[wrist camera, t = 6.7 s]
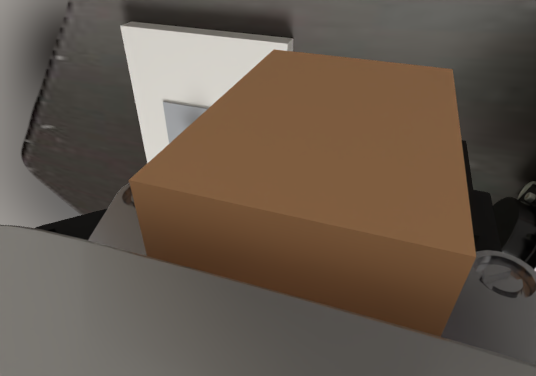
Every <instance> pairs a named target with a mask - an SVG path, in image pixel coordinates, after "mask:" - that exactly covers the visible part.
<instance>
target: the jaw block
mask: <svg viewBox="0 0 536 376" xmlns="http://www.w3.org/2000/svg"><path fill="white" fill-rule="evenodd" d="M129 183H130V187H131V191H132V195H133V199H134V204H135V208H136V212H137V216H138V221H139V225H140V229H141V233H142V237H143V242H144V246H145V250H146V254H147V256H149V257H152V258H156V259H160V260H164V261H167V262H171V263H175V264H178V265H182V266H186V267H190V268H193V269H197V270H201V271H205V272H208V273H212V274H216V275H219V276H223V277H227V278H230V279H234V280H238V281H241V282H245V283H249V284H252V285H256V286H260V287H263V288H267V289H271V290H274V291H278V292H282V293H285V294H289V295H293V296H296V297H300V298H304V299H307V300H311V301H314V302H318V303H322V304H325V305H329V306H333V307H336V308H340V309H343V310H347V311H350V312H354V313H358V314H361V315H365V316H368V317H372V318H376V319H379V320H383V321H386V322H390V323H394V324H397V325H401V326H404V327H408V328H411V329H415V330H419V331H422V332H426V333H429V334H433V335H437V336H440V337H441V335H442V332H443V330H444V328H445V326H446V323H447V321H448V319H449V317H450V315H451V312H452V310H453V308H454V306H455V303H456V301H457V299H458V297H459V294H460V292H461V290H462V288H463V285H464V283H465V281H466V279H467V277H468V274H469V272H470V270H471V268H472V265H473V263H474V261H475V259H476V251H475V243H474V235H473V227H472V219H471V212H470V204H469V196H468V188H467V180H466V172H465V164H464V156H463V148H462V140H461V132H460V124H459V116H458V108H457V100H456V93H455V85H454V77H453V69H446V68H437V67H428V66H419V65H410V64H401V63H392V62H383V61H374V60H365V59H356V58H347V57H338V56H329V55H320V54H311V53H302V52H293V51H284V50H275V49H274V50H273V51H271V52H270V53H269V54H268V55H267V56H266V57H265V58H264V59H263V60H261V61H260V62H259V63H258V64H257V65H256V66H255V67H254V68H253V69H251V70H250V71H249V72H248V73H247V74H246V75H245V76H244V77H243V78H242V79H240V80H239V81H238V82H237V83H236V84H235V85H234V86H233V87H232V88H230V89H229V90H228V91H227V92H226V93H225V94H224V95H223V96H222V97H220V98H219V99H218V100H217V101H216V102H215V103H214V104H213V105H212V106H210V107H209V108H208V109H207V110H206V111H205V112H204V113H203V114H202V115H201V116H199V117H198V118H197V119H196V120H195V121H194V122H193V123H192V124H191V125H189V126H188V127H187V128H186V129H185V130H184V131H183V132H182V133H181V134H179V135H178V136H177V137H176V138H175V139H174V140H173V141H172V142H171V143H170V144H168V145H167V146H166V147H165V148H164V149H163V150H162V151H161V152H160V153H158V154H157V155H156V156H155V157H154V158H153V159H152V160H151V161H150V162H148V163H147V164H146V165H145V166H144V167H143V168H142V169H141V170H140V171H139V172H137V173H136V174H135V175H134V176H133V177H132V178H131V179H130V180H129Z"/></svg>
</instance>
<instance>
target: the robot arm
mask: <svg viewBox="0 0 536 376" xmlns="http://www.w3.org/2000/svg"><path fill="white" fill-rule="evenodd" d="M462 148H463V156H464V164H465V172H466V180H467V188H468V196H469V204H470V212H471V219H472V227H473V235H474V243H475V251H476V259H475V261H474V263H473V265H472V268H471V270H470V272H469V274H468V277H467V279H466V281H465V283H464V285H463V288H462V290H461V292H460V294H459V297H458V299H457V301H456V303H455V306H454V308H453V310H452V312H451V315H450V317H449V319H448V321H447V323H446V326H445V328H444V330H443V332H442V335H441V337H440V336H437V335H433V334H429V333H426V332H422V331H419V330H415V329H411V328H408V327H404V326H401V325H397V324H394V323H390V322H386V321H383V320H379V319H376V318H372V317H368V316H365V315H361V314H358V313H354V312H350V311H347V310H343V309H340V308H336V307H333V306H329V305H325V304H322V303H318V302H314V301H311V300H307V299H304V298H300V297H296V296H293V295H289V294H285V293H282V292H278V291H274V290H271V289H267V288H263V287H260V286H256V285H252V284H249V283H245V282H241V281H238V280H234V279H230V278H227V277H223V276H219V275H216V274H212V273H208V272H205V271H201V270H197V269H193V268H190V267H186V266H182V265H178V264H175V263H171V262H167V261H164V260H160V259H156V258H152V257H149V256H147V254H146V250H145V246H144V242H143V237H142V233H141V229H140V225H139V221H138V216H137V212H136V208H135V204H134V199H133V195H132V191H131V187H130V183H129V184H127V185H125V186H124V187H122V188H121V189H120V191H119V192H118V193H117V194H116V196H115V198H114V199H113V201H112V202H111V204H110V206H109V207H108V209H104V210H100V211H96V212H92V213H88V214H85V215H81V216H77V217H73V218H69V219H65V220H61V221H58V222H54V223H51V224H46V225H42V226H39V227H36V228H29V227H22V226H12V225H0V376H536V271H535V270H534V269H533V268H532V267H531V266H529V265H528V264H526V263H525V262H523V261H522V260H520V259H518V258H516V257H514V256H512V255H510V254H506V253H503V252H502V250H501V245H500V240H499V235H498V230H497V225H496V220H495V215H494V210H493V205H492V201H491V196H490V194H489V193H488V192H482V191H477V190H473V186H472V179H471V172H470V165H469V158H468V151H467V144H466V141H463V140H462Z"/></svg>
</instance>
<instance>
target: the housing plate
mask: <svg viewBox="0 0 536 376" xmlns="http://www.w3.org/2000/svg"><path fill="white" fill-rule="evenodd" d="M120 27H121V32H122V37H123V42H124V47H125V52H126V57H127V62H128V67H129V72H130V77H131V82H132V87H133V92H134V97H135V102H136V107H137V113H138V118H139V123H140V128H141V133H142V138H143V143H144V148H145V153H146V158H147V163H148V162H150V161H151V160H152V159H153V158H154V157H155V156H156V155H157V154H158V153H160V152H161V151H162V150H163V149H164V148H165V147H166V146H167V145H168V144H170V143H171V142H172V141H173V140H174V139H175V138H176V137H177V136H178V135H179V134H181V133H182V132H183V131H184V130H185V129H186V128H187V127H188V126H189V125H191V124H192V123H193V122H194V121H195V120H196V119H197V118H198V117H199V116H201V115H202V114H203V113H204V112H205V111H206V110H207V109H208V108H209V107H210V106H212V105H213V104H214V103H215V102H216V101H217V100H218V99H219V98H220V97H222V96H223V95H224V94H225V93H226V92H227V91H228V90H229V89H230V88H232V87H233V86H234V85H235V84H236V83H237V82H238V81H239V80H240V79H242V78H243V77H244V76H245V75H246V74H247V73H248V72H249V71H250V70H251V69H253V68H254V67H255V66H256V65H257V64H258V63H259V62H260V61H261V60H263V59H264V58H265V57H266V56H267V55H268V54H269V53H270V52H271V51H273V50H274V49H275V50H284V51H293V38H286V37H276V36H266V35H257V34H247V33H237V32H228V31H218V30H209V29H199V28H189V27H180V26H170V25H160V24H151V23H141V22H132V21H131V22H129V23H126V24H123V25H121V26H120Z"/></svg>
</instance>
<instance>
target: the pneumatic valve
mask: <svg viewBox="0 0 536 376" xmlns="http://www.w3.org/2000/svg"><path fill="white" fill-rule="evenodd" d="M493 210H494V215H495V220H496V225H497V230H498V235H499V240H500V245H501V250H502V252H503V253H506V254H510V255H512V256H514V257H516V258H518V259H520V260H522V261H523V262H525V263H526V264H528V265H529V266H531V267H532V268H533V269H534V270H535V271H536V182H535V181H532V182H529V183H528V184H527V185H525V186H524V188H523V189H522V190H521V192H520V193H519V196H518V198H517V199H515V198H513V197H507V198H504V199H501V200H500V201H498V202H497V203H496V204H494V205H493Z"/></svg>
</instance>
